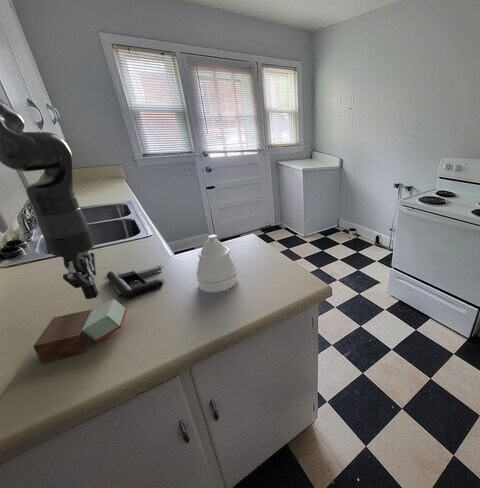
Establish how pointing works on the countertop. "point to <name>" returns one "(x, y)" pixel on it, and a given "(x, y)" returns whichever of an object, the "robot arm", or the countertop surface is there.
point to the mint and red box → (105, 320)
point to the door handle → (125, 278)
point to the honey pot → (215, 267)
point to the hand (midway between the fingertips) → (92, 296)
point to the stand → (63, 337)
